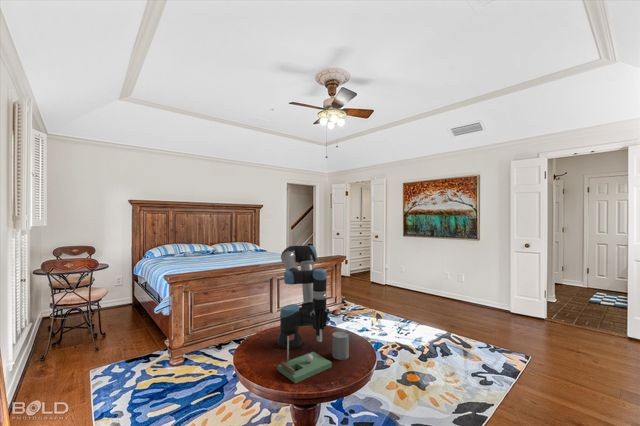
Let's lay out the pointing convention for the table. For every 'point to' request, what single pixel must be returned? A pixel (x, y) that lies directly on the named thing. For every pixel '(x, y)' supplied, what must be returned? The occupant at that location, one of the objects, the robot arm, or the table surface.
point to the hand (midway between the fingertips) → (319, 340)
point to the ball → (309, 358)
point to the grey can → (340, 345)
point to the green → (302, 365)
